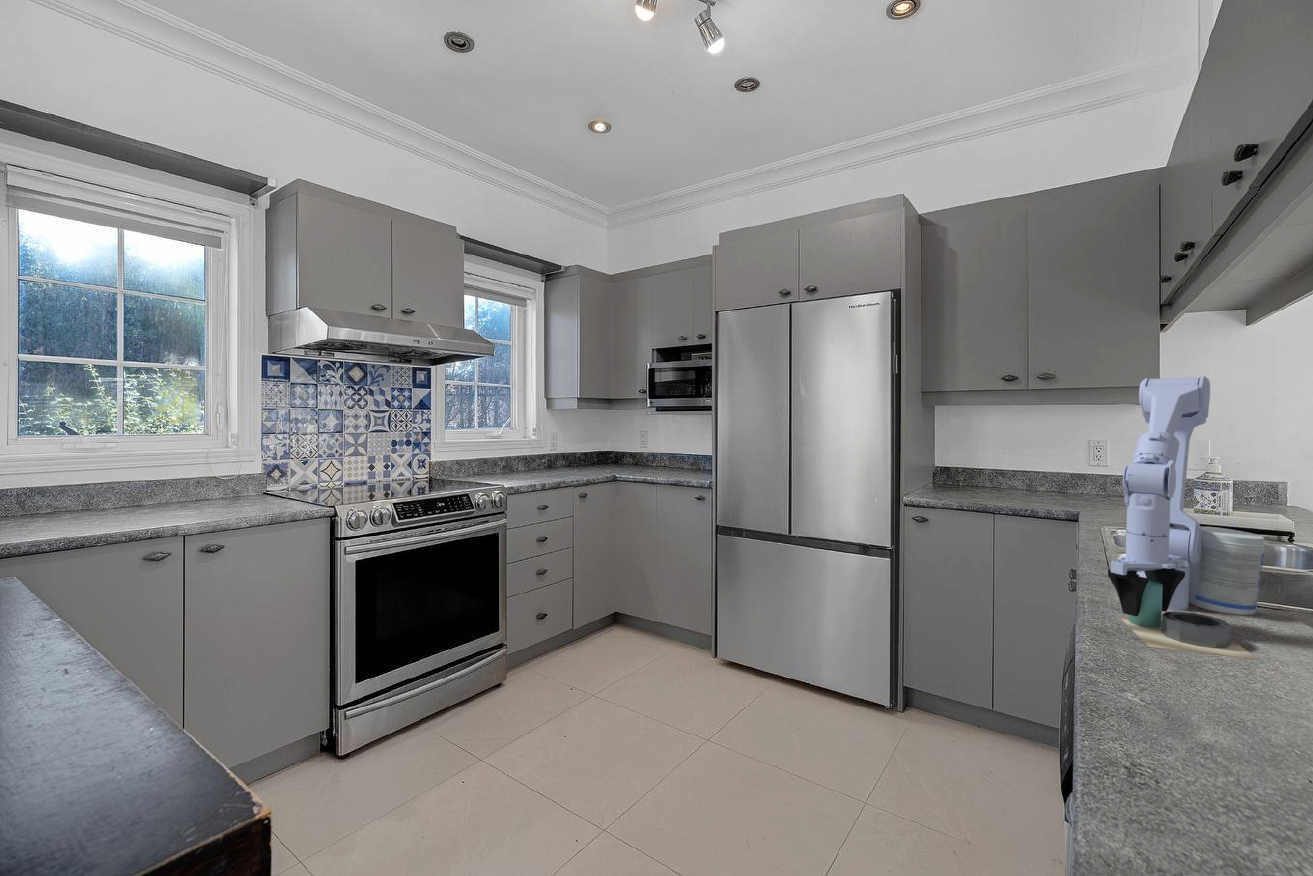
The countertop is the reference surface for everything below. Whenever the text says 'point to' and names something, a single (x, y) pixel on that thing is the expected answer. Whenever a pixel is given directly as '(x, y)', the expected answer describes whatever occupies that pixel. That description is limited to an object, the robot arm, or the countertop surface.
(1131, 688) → the countertop surface
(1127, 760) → the countertop surface
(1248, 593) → the supplement tub
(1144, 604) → the teal plug
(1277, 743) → the countertop surface
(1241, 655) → the pale board
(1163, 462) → the robot arm
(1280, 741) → the countertop surface
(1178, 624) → the grey faceted ring
